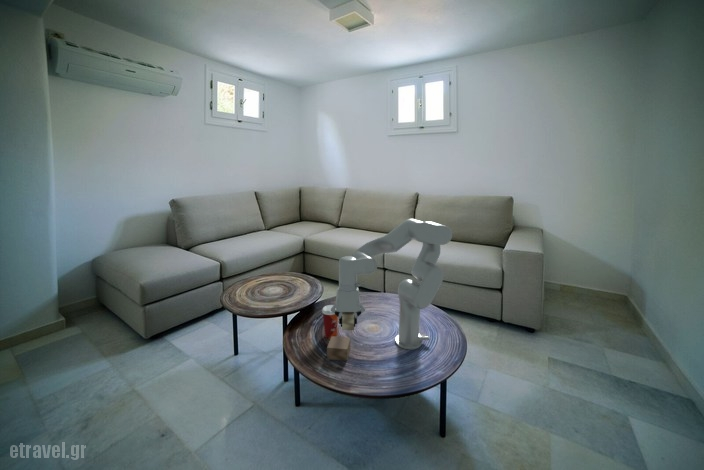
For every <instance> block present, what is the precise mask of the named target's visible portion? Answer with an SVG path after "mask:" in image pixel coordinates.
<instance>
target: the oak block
mask: <svg viewBox="0 0 704 470" xmlns="http://www.w3.org/2000/svg"><path fill="white" fill-rule="evenodd" d="M341 330H342V331H354V330H355V327H354V313H353V312H343V313H342V327H341Z"/></svg>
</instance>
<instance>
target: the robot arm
mask: <svg viewBox="0 0 704 470" xmlns="http://www.w3.org/2000/svg"><path fill="white" fill-rule="evenodd" d="M452 238H453V231H452V229H451V228H450V227H449V226H447V225H444V224H441V223H437V222H434V221H422V220H419V219H415V218H408V219H406V220H404V221H402V222H401V223H400V224H399V225H397V226H396V227H395V228H393V229H392V230H391V231H390V232H388V233H387V234H385V235H384V236H381V237H377V238H376V239H372V240H370V241H368V242H366V243H365V244H363V245H361V246H360V247H359V248H358V249H356V250H355V251H354V252H353V253H352V255H345V256H342V257H339V260H338V287H337V289H336V295H335V296H336V297H335V303H334V304H333V305H334V306H333V307H332V308H331V311H332V312H333V313H335V315H337V316H338V324H339V325H340V328H342V313H343V312H353V313H354V328H356V325H357V324H358V318H359V316H361V315H362V314H363V313H364V312H365V311H366V308H365V306H364V305H363V304H362V303H361V298H360V297H361V295H360V290H359V287H361V282H358V275H363V276H364V275H365V276H367V275H372V274H374V273H376V270H377V269H378V263H377V260H375V259H374V258H373V257H375V256H378V255H381V254H391V253H397V252H398V251H400V250H401V249H402V248H403V247H404V246H406V245H407V244H409V243H410V242H411V241H417V242H418V243H422V247H421V249H420V252H419V254H418V256H417V257H416V259H415V262H414V264H413V265H412V267H411V272H410V273H411V275H412V276H413V277H414V278H415V279H416V280H418V281H420V282H421V283H418V282H417V281H415V280H413V279H411V278H410V279H409V278H406V279H403V280H401V282H400V283H399V285H398V286H397V288H398V289H397V294H398V302H399V313H398V314H399V315H398V316H399V317H398V335H396V337H395V338H394V340H395V341H394V342H395V344H396V346H398V347H399V348H401V349H403V350H410V351H411V350H417V349H419V348H420V347H421V346H422V345H423V341H430V337H429V336H426V334H425V333H420V320H421V319H420V317H421V310H424V309H427V308H428V307H429V306H430V305H431V304H432V302H433V300H434V299H435V296H436V295H437V293H438V291H439V289H440V287H441V285H442V283H443V281H444V271H443V269H442V268H440V267H439V266H438V265H436V264H437V262H438V260H439V258H440V255H441V246H445V245H447V244H448V243H450V241H451V240H452ZM335 309H336V310H335Z"/></svg>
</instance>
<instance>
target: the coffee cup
mask: <svg viewBox="0 0 704 470" xmlns="http://www.w3.org/2000/svg"><path fill="white" fill-rule="evenodd" d="M333 306H334V304H328V305H325V306H323V307H322V310H321V312H322V317H323V318H322V319H323V328H324V335H325V338H327V339H329V340H330V338H331V336H335V337H338V324H339V318H338V316H337V315H335V313H333V312H332V311H331V308H332V307H333ZM335 310H336V309H335Z"/></svg>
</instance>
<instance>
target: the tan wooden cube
mask: <svg viewBox="0 0 704 470" xmlns="http://www.w3.org/2000/svg"><path fill="white" fill-rule="evenodd" d="M350 353H351V337H350V336H349V337H347V336H336V337H335V336H331V338H330V339H329V341H328V344H327V347H326V358H327V360H334V361H344V362H346V361H348V360H349V356H350Z"/></svg>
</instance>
